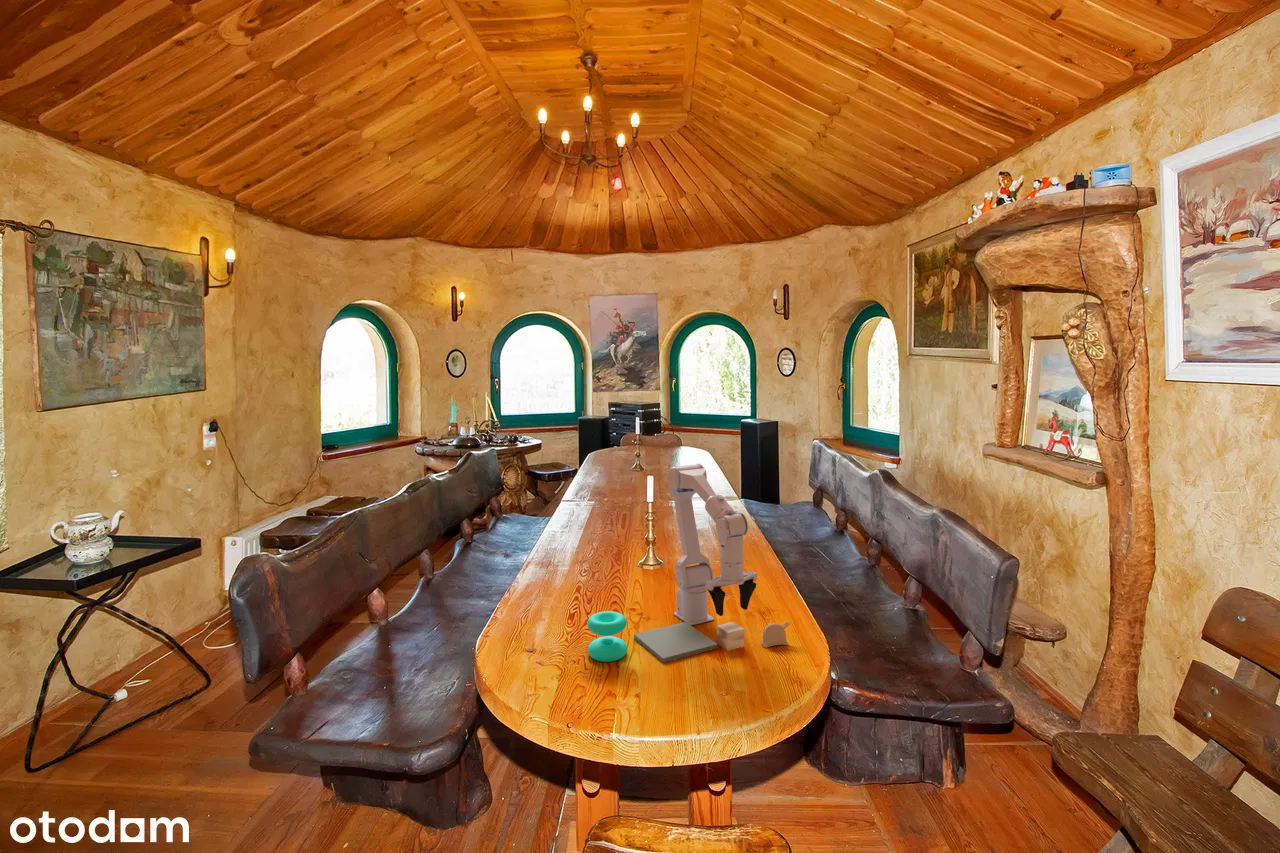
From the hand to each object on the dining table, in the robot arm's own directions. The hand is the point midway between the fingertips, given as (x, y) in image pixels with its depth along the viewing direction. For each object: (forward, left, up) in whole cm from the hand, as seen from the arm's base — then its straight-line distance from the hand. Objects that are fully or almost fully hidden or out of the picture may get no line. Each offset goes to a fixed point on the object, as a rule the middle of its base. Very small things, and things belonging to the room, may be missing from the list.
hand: (731, 611), depth 174 cm
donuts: (-12, -30, -10) cm, 34 cm away
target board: (-9, -12, -9) cm, 18 cm away
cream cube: (-1, 0, -9) cm, 9 cm away
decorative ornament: (+5, +11, -10) cm, 15 cm away
